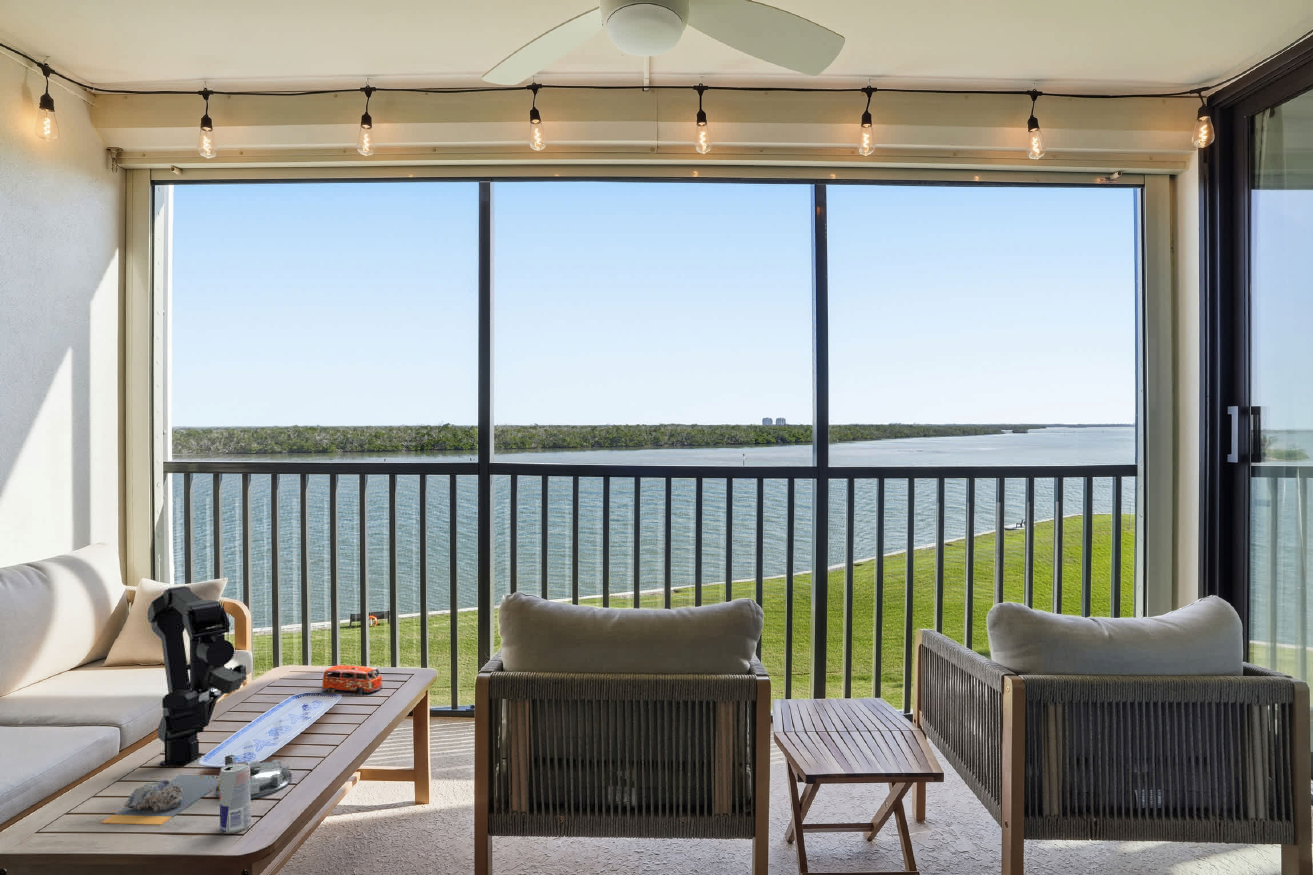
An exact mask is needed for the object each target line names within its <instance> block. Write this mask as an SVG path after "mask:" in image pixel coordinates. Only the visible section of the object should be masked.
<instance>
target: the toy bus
mask: <svg viewBox="0 0 1313 875" xmlns="http://www.w3.org/2000/svg"><path fill="white" fill-rule="evenodd" d="M374 671H375V672H376V673H375V672H374ZM382 681H383V677H382V675H381V674H380V672H379V669H378V668H376V667H370V666H362V665H361V666H360V665H344V664H340V665H339V664H338V665H333V666H332V667H329V668H327V669H325V671H324V673H323V676H322V687H321V690H323V691H327V692H328V693H329V694H334V693H336V690H337V691H347V692H348V691H349V692H351V691H352V692H356V691H357V694H359V695H363V694H364V693H365V694H370V693H374V692H377V691H380V689H382V688H383V685H382V684H383V683H382Z"/></svg>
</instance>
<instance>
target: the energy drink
mask: <svg viewBox="0 0 1313 875" xmlns="http://www.w3.org/2000/svg"><path fill="white" fill-rule="evenodd" d="M249 765H250V762H247V761H237V762H236V761H234V763H231V764H228V765H226V766H225V765H224V766H222V767H220V771H219V775H218V776H219V777H220V799H219V830H220V832H222V833H224V834H227V835H228V834H235V833H236V834H237V833H240V832H242V831H244V830H245V829H247V828H249V826H250V825H251V822H252V812H251V811H252V809H251V808H252V804H251V803H252V802H251V801H252V800H251V792H250V766H249Z"/></svg>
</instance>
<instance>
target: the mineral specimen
mask: <svg viewBox="0 0 1313 875" xmlns="http://www.w3.org/2000/svg"><path fill="white" fill-rule="evenodd" d="M181 802H182V788H181V786H179V787H178V786H173V783H172V782H171V780H159V781H158V780H157V781H154V782H148V783H146V784H144V785H141V786H140V787H136V788H135V789H134V790H133V791H132V793H131V795H129V797H128V799H127V800H126V802H125V804H124V805H123V806H124V808H126V807H127V808H131V810H133V809H135V808H138V809H140V808H141V807H147V808H149V807H150V806H152V808H153V809H154V812H156V811H162V810H163V811H165V810H167V809H170V808H175V807H177V806H179V805H182V803H181Z"/></svg>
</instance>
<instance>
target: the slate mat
mask: <svg viewBox="0 0 1313 875" xmlns="http://www.w3.org/2000/svg"><path fill="white" fill-rule="evenodd" d="M199 775H201V776H202V777H203V778H200V777H201V776H199ZM196 776H197V777H196ZM212 776H213V777H214V778H213V777H212ZM208 777H209V778H208ZM216 777H218V778H220V777H219V775H211V774H210V775H207V774H205V775H204V774H203V775H202V774H179V775H177V776H175V777H174V778H172V779H171V780H170V781H171V782H172V783H173V786H178V787H179V786H181V788H182V802H181V803H182V805H179V806H177V807H175V808H170V809H167V810H165V811H163V810H162V811H156V812H154V809H153V808H152V806H150V807H149V808H147V807H141V808H140V809H138V808H135V809H133V810H131V808H127V807H124V808H122V809H121V810H119V811H117V812H116V813H114V814H112V815H111V816H109V817H108V818H106V819H104V820H103V821H101V823H100V824H114V825H117V824H118V825H119V824H120V825H148V826H149V825H152V826H155V825H156V826H162V825H163V824H165V823H166V822H168V821H169V820H170V819H172V818H174V817H175V816H177V815H178V814H180V813H181V812H182V811H184V810H186V809H187V808H189V807H190V806H191V805H193V804H194V803H196V802H198V801H200V799H202V798H203V796H204V797H205V796H206V795H208V794H210V793H211V792H213V791H212V790H213V789H214V790H216V789H217V787H218V778H216ZM209 792H210V793H209ZM201 797H202V798H201Z"/></svg>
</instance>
